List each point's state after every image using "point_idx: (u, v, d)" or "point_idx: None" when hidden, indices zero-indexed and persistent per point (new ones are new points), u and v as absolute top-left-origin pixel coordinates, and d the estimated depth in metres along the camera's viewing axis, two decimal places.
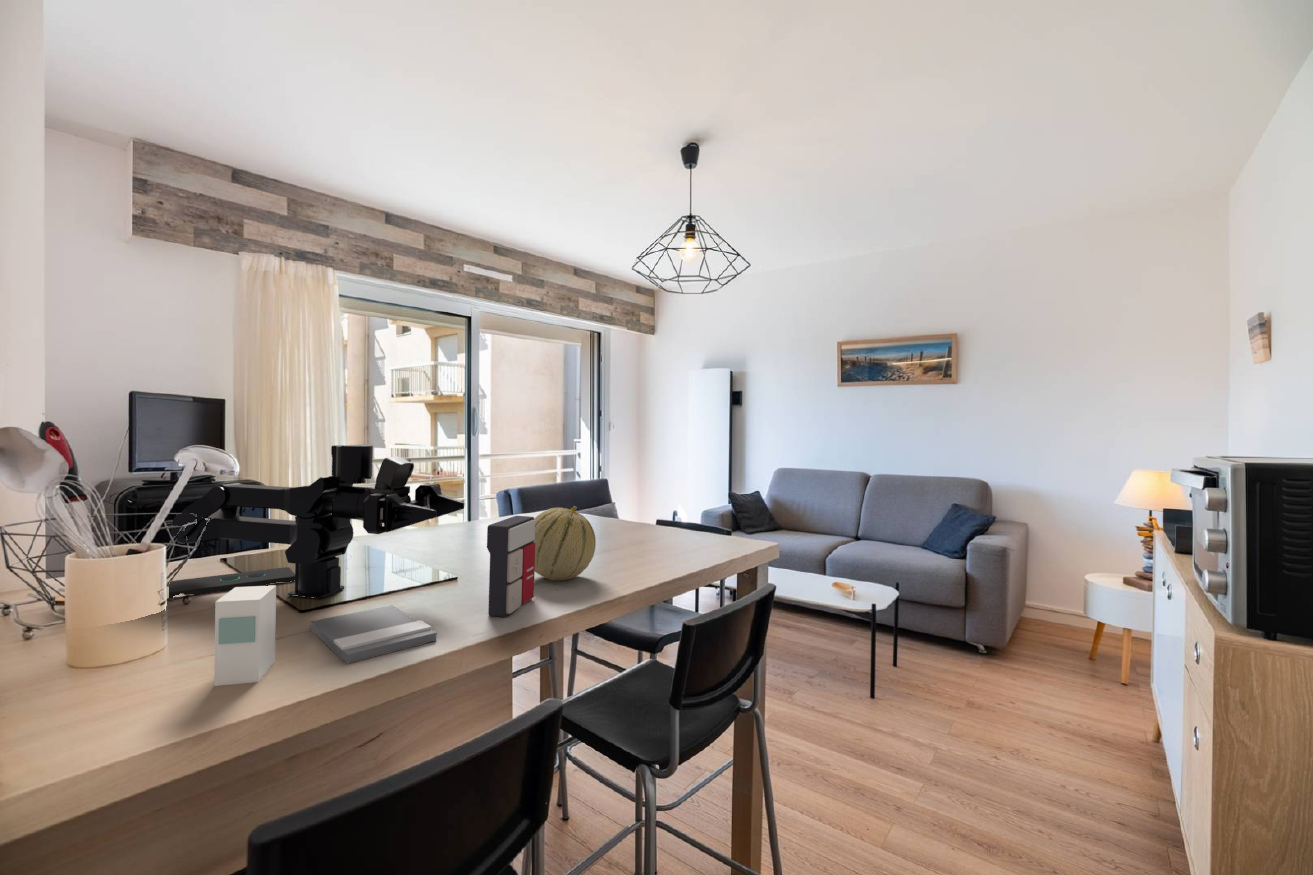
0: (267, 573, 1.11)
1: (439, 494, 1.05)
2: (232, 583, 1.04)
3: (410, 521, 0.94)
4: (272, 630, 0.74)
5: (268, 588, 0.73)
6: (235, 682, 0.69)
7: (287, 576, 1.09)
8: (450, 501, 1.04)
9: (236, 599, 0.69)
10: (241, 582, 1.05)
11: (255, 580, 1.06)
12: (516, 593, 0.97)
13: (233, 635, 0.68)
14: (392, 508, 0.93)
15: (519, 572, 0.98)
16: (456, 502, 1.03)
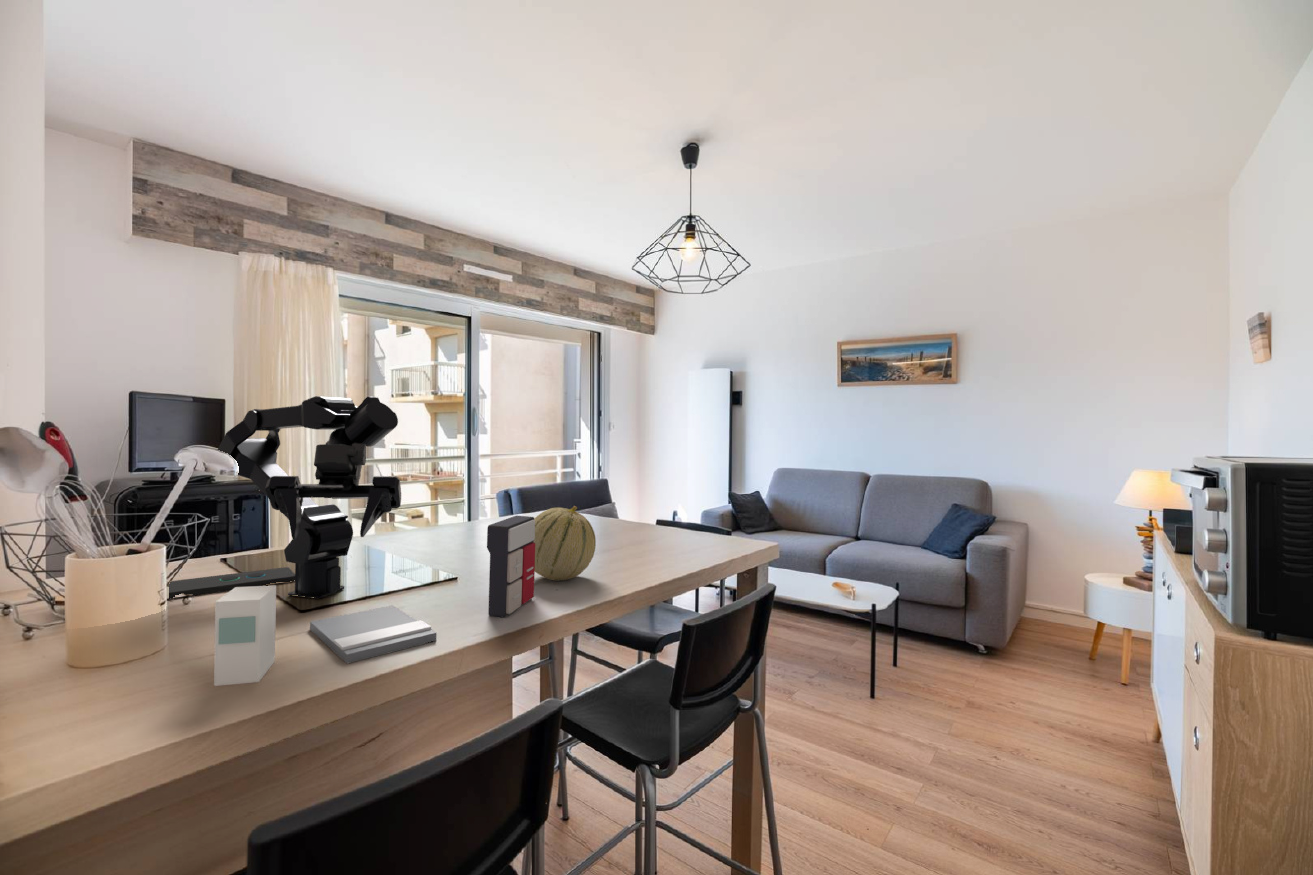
0: (267, 573, 1.11)
1: (371, 501, 0.92)
2: (232, 583, 1.04)
3: None
4: (272, 630, 0.74)
5: (268, 588, 0.73)
6: (235, 682, 0.69)
7: (287, 576, 1.09)
8: (363, 519, 0.91)
9: (236, 599, 0.69)
10: (241, 582, 1.05)
11: (255, 580, 1.06)
12: (516, 593, 0.97)
13: (233, 635, 0.68)
14: None
15: (519, 572, 0.98)
16: (361, 526, 0.90)
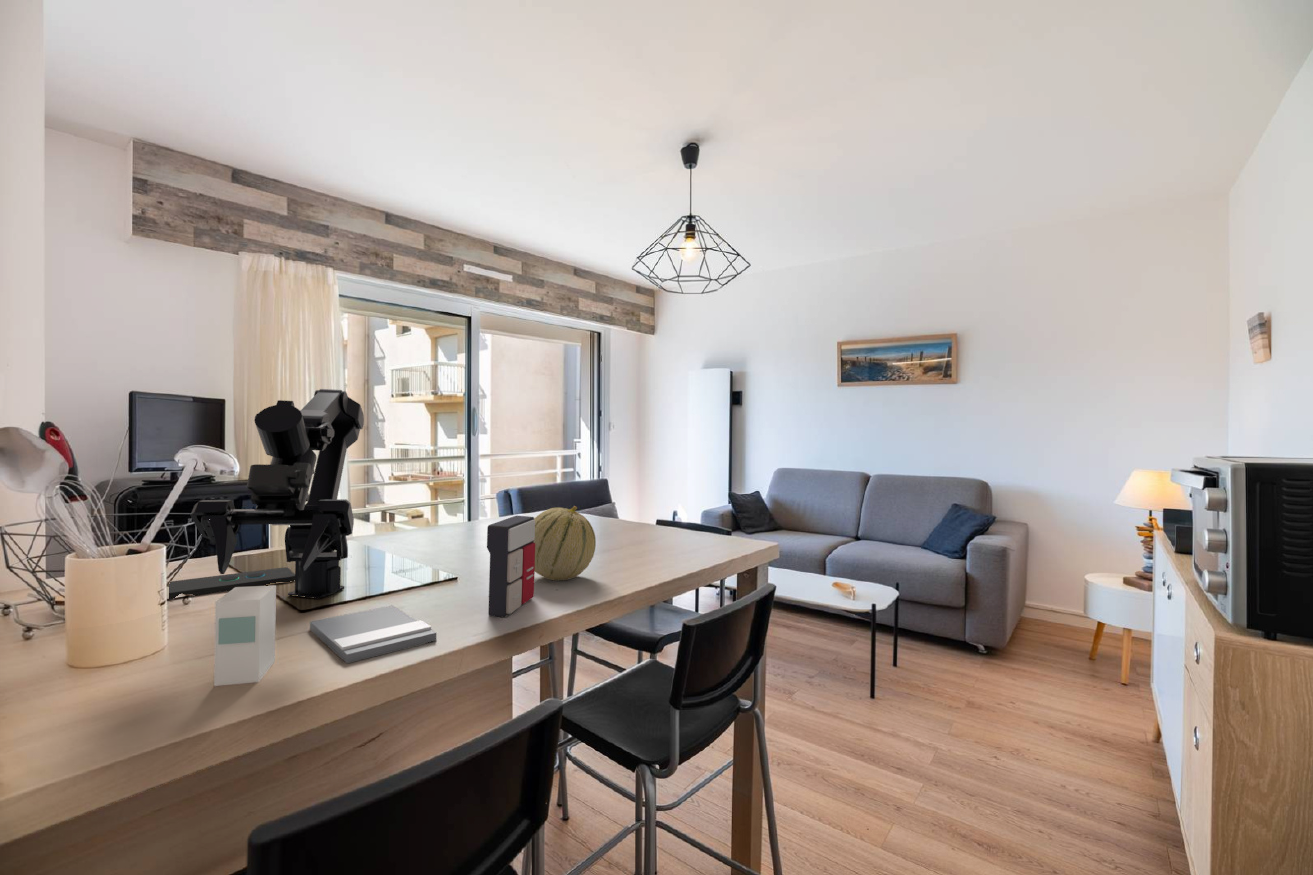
0: (266, 573, 1.11)
1: (315, 529, 0.80)
2: (232, 583, 1.04)
3: None
4: (272, 630, 0.74)
5: (268, 588, 0.73)
6: (235, 682, 0.69)
7: (287, 576, 1.09)
8: None
9: (236, 599, 0.69)
10: (241, 582, 1.05)
11: (255, 580, 1.06)
12: (516, 593, 0.97)
13: (233, 635, 0.68)
14: None
15: (519, 572, 0.98)
16: (301, 558, 0.78)
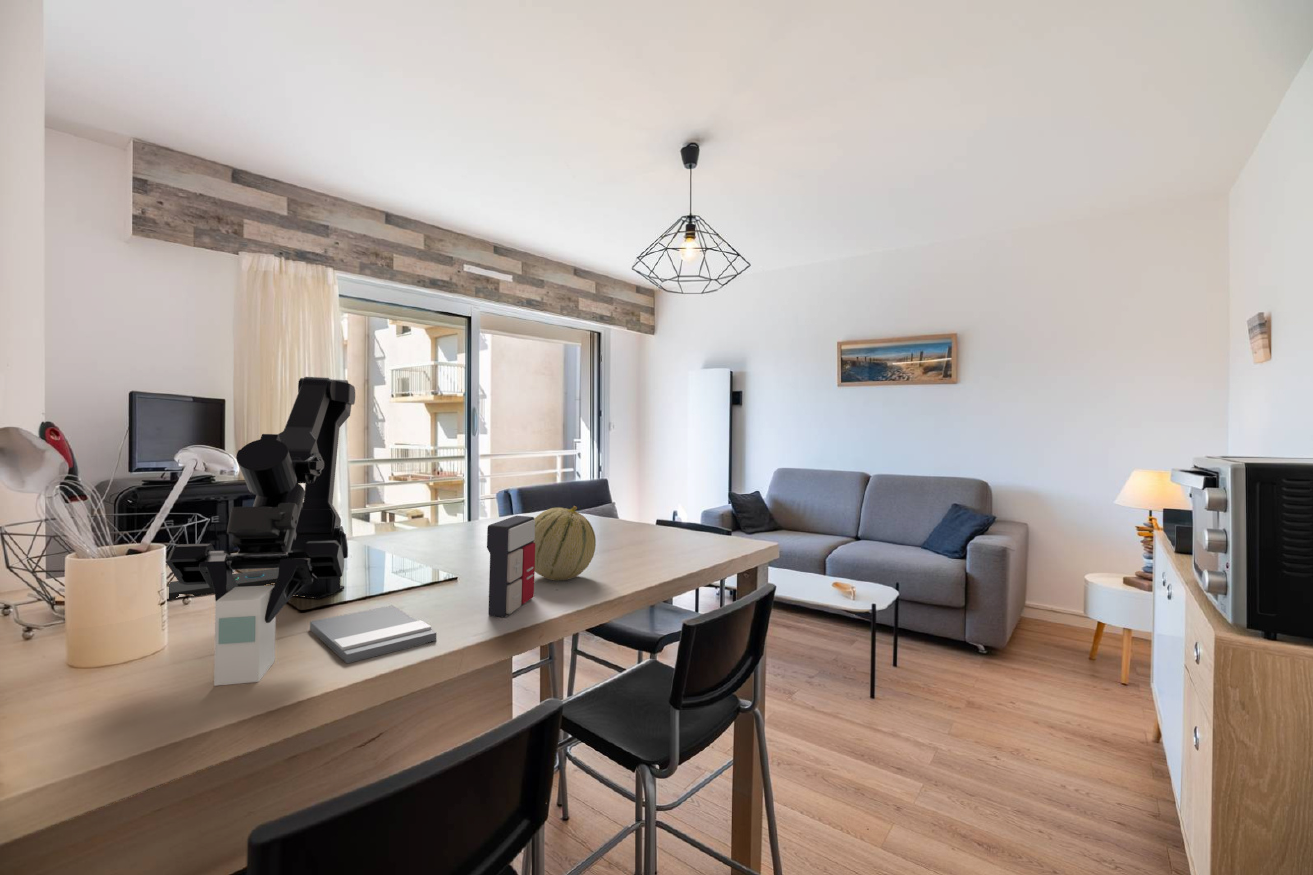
0: (266, 573, 1.11)
1: (283, 575, 0.74)
2: None
3: None
4: (272, 630, 0.74)
5: (268, 588, 0.73)
6: (235, 682, 0.69)
7: None
8: None
9: (236, 599, 0.69)
10: (241, 582, 1.04)
11: (255, 580, 1.06)
12: (516, 593, 0.97)
13: (233, 635, 0.68)
14: None
15: (519, 572, 0.98)
16: None
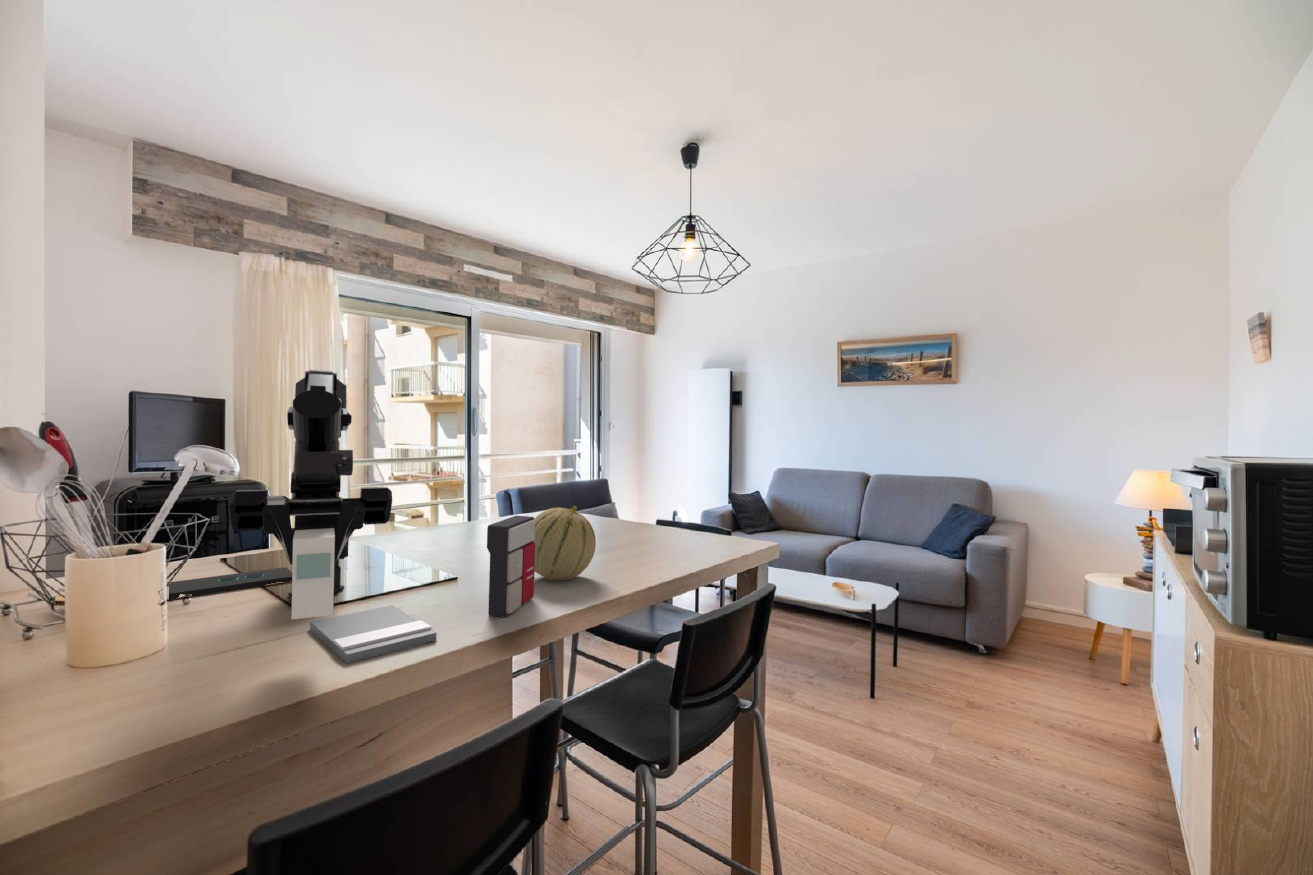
0: (265, 573, 1.11)
1: (344, 518, 0.78)
2: (232, 584, 1.04)
3: (281, 544, 0.75)
4: None
5: (330, 530, 0.77)
6: (311, 615, 0.73)
7: (286, 576, 1.09)
8: None
9: (310, 537, 0.73)
10: (241, 582, 1.04)
11: (255, 580, 1.06)
12: (516, 593, 0.97)
13: (310, 571, 0.72)
14: None
15: (519, 572, 0.98)
16: None
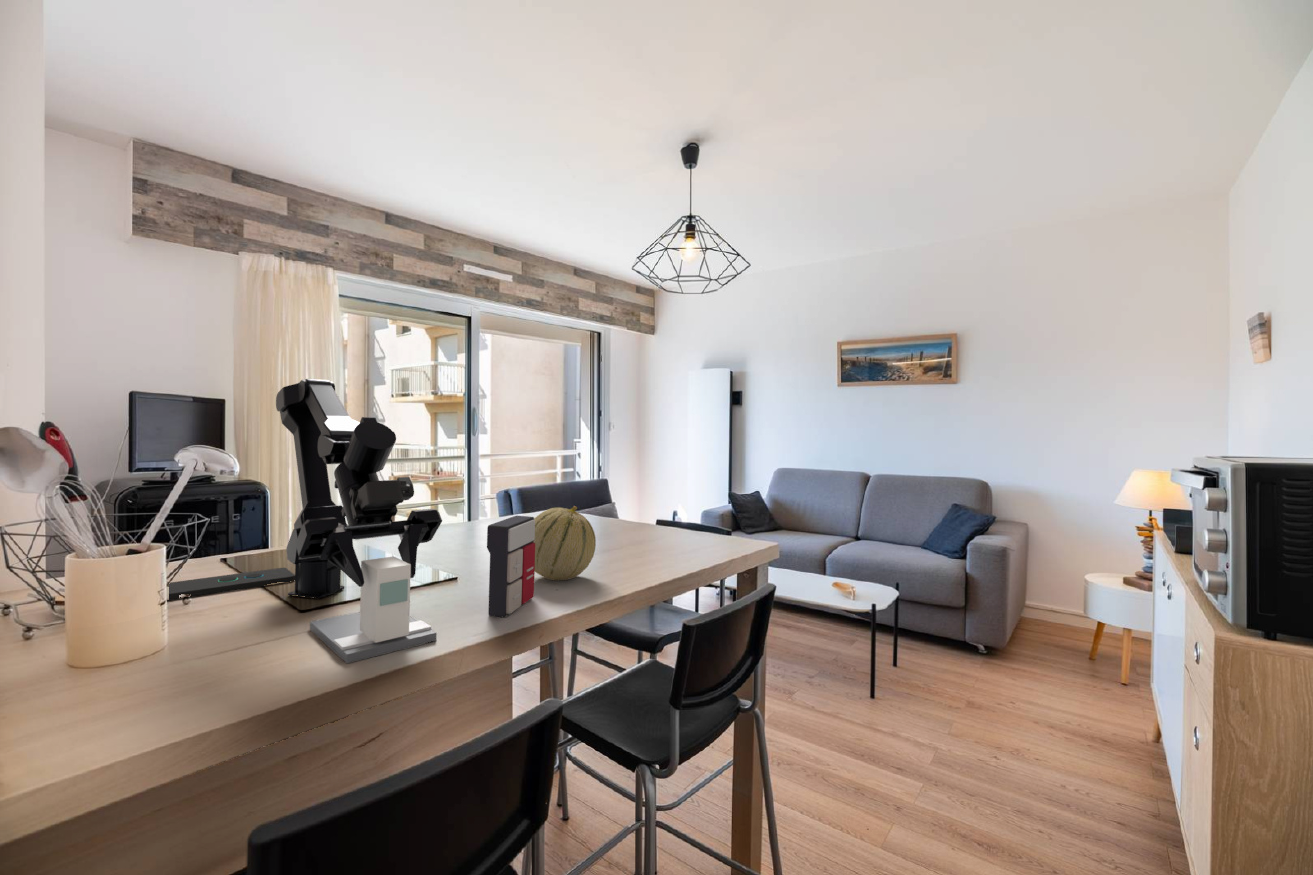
0: (265, 573, 1.10)
1: (412, 539, 0.86)
2: (232, 584, 1.03)
3: (343, 568, 0.80)
4: None
5: (393, 558, 0.84)
6: (391, 637, 0.80)
7: (286, 576, 1.09)
8: (409, 559, 0.84)
9: (389, 566, 0.80)
10: (241, 583, 1.04)
11: (254, 580, 1.06)
12: (516, 593, 0.97)
13: (392, 597, 0.79)
14: (336, 544, 0.80)
15: (519, 572, 0.98)
16: None
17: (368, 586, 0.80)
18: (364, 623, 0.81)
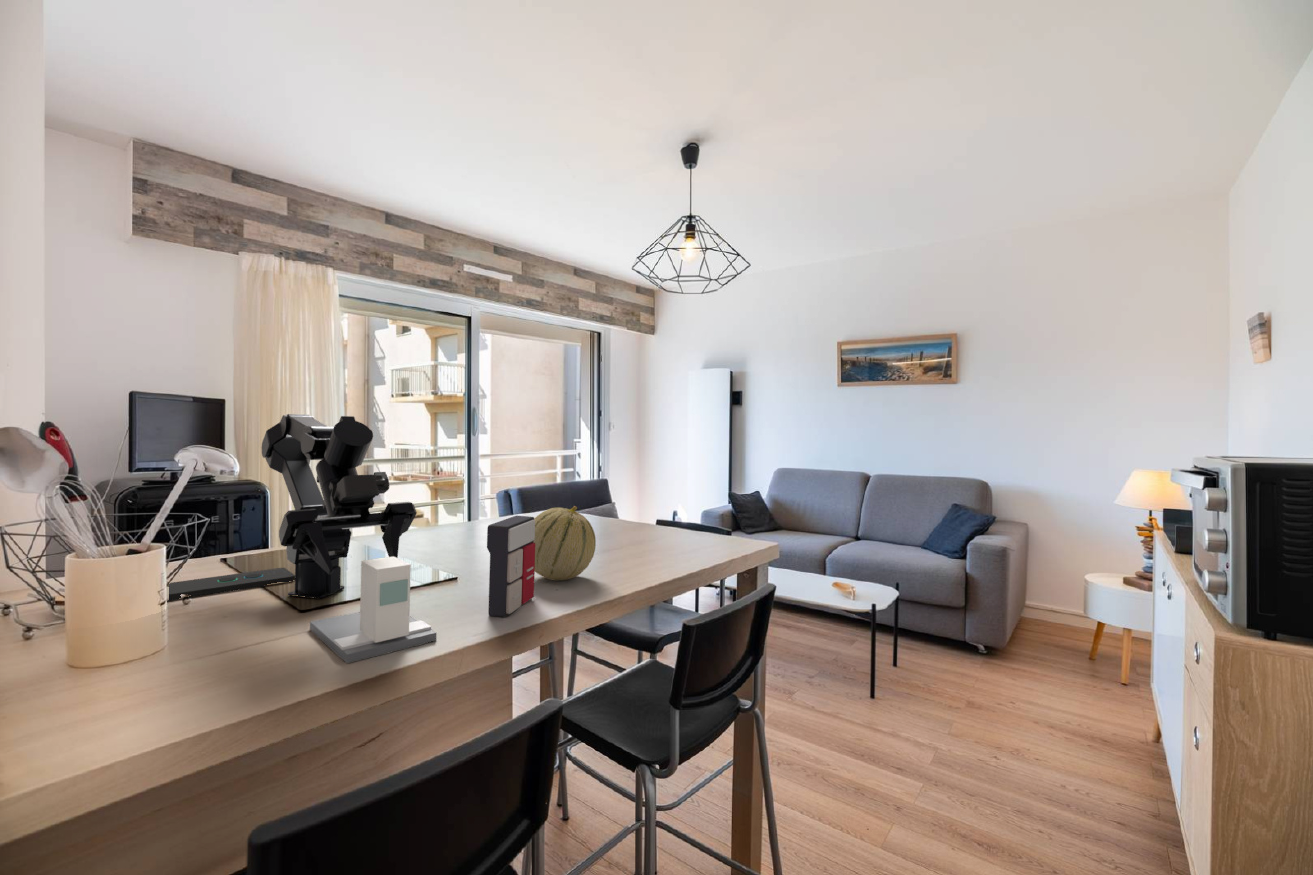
0: (264, 574, 1.10)
1: (395, 528, 0.93)
2: (232, 584, 1.03)
3: (313, 557, 0.86)
4: None
5: (393, 558, 0.84)
6: (391, 637, 0.80)
7: (286, 576, 1.09)
8: (391, 547, 0.92)
9: (389, 566, 0.80)
10: (241, 583, 1.04)
11: (254, 581, 1.06)
12: (516, 593, 0.97)
13: (392, 597, 0.79)
14: (307, 534, 0.85)
15: (519, 572, 0.98)
16: (392, 554, 0.91)
17: (368, 586, 0.80)
18: (364, 623, 0.81)
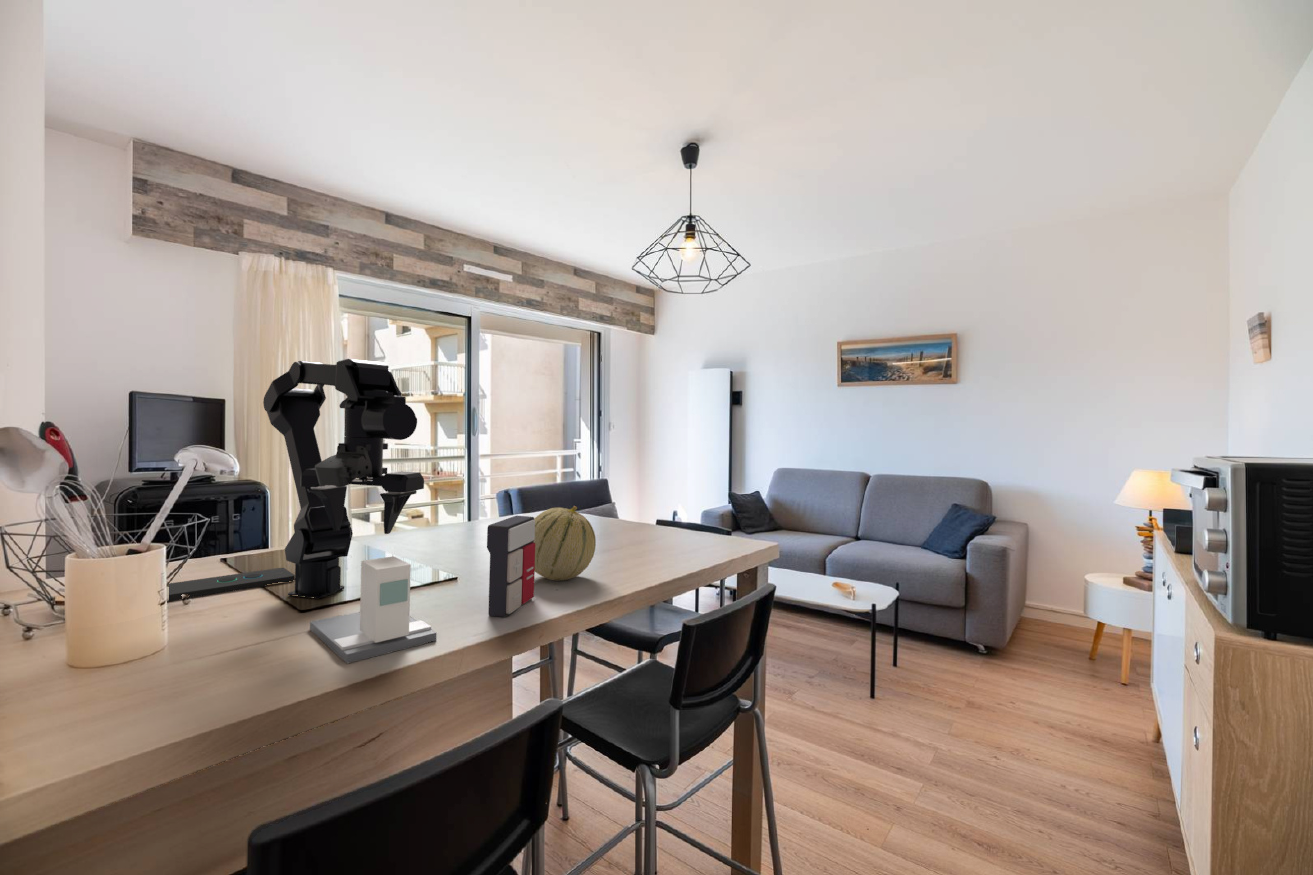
0: (264, 574, 1.10)
1: (387, 502, 0.93)
2: (231, 584, 1.03)
3: None
4: None
5: (393, 558, 0.84)
6: (391, 637, 0.80)
7: (286, 576, 1.09)
8: None
9: (389, 566, 0.80)
10: (240, 583, 1.04)
11: (254, 581, 1.06)
12: (516, 593, 0.97)
13: (392, 597, 0.79)
14: None
15: (519, 572, 0.98)
16: (384, 526, 0.94)
17: (368, 586, 0.80)
18: (364, 623, 0.81)
